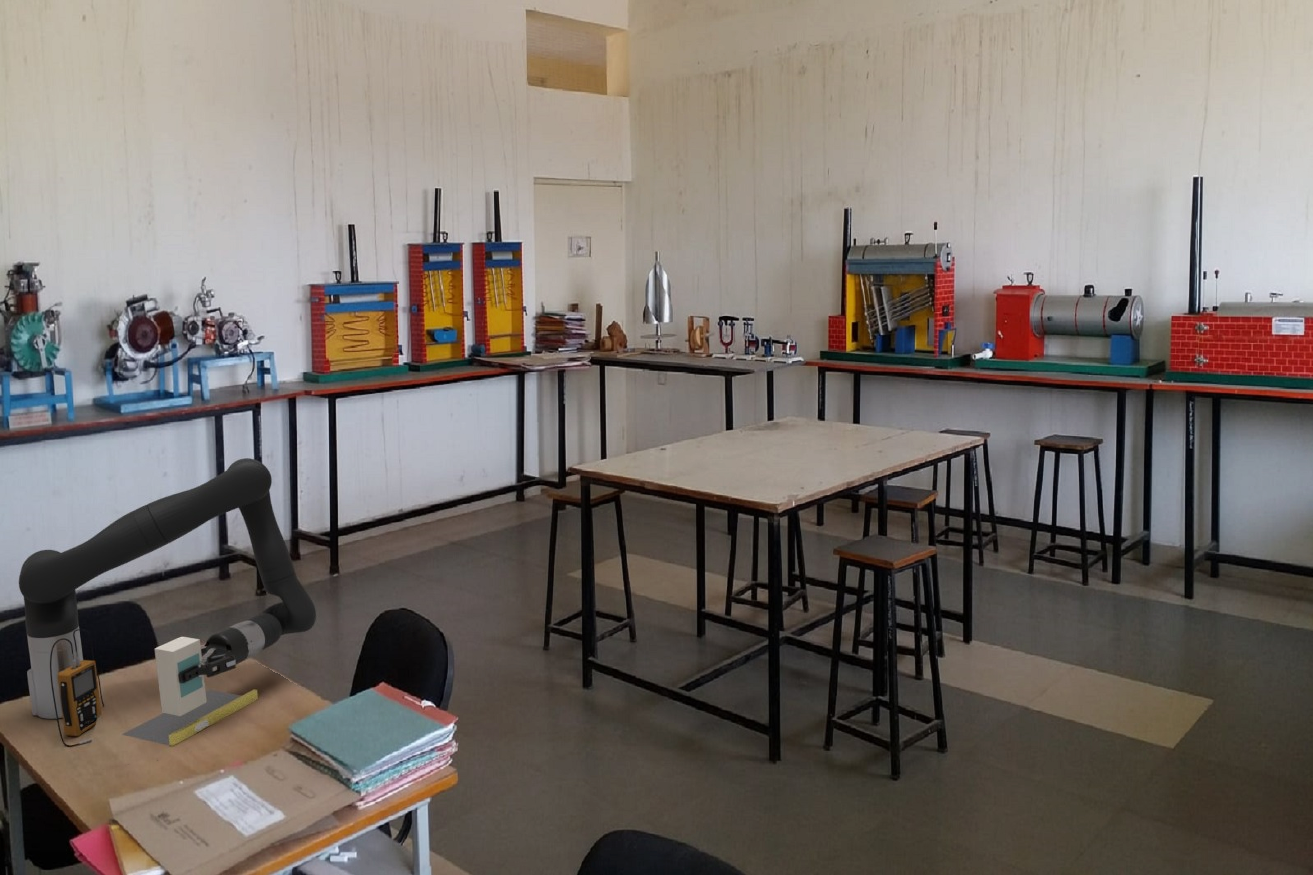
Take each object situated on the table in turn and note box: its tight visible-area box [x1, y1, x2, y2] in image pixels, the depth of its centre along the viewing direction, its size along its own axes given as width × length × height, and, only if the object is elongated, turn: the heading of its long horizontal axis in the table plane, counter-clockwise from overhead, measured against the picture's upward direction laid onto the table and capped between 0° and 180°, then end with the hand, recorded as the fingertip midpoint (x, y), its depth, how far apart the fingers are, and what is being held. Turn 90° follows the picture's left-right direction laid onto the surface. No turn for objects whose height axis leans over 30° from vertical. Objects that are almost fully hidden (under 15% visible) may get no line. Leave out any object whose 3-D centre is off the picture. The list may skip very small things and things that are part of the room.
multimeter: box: [50, 628, 105, 748], centre depth 209 cm, size 15×10×20 cm
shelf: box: [122, 689, 259, 747], centre depth 213 cm, size 13×22×4 cm, turn 157°
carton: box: [154, 636, 207, 716], centre depth 206 cm, size 5×6×13 cm
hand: (169, 676), depth 204 cm, fingers closed on carton, 4 cm apart
